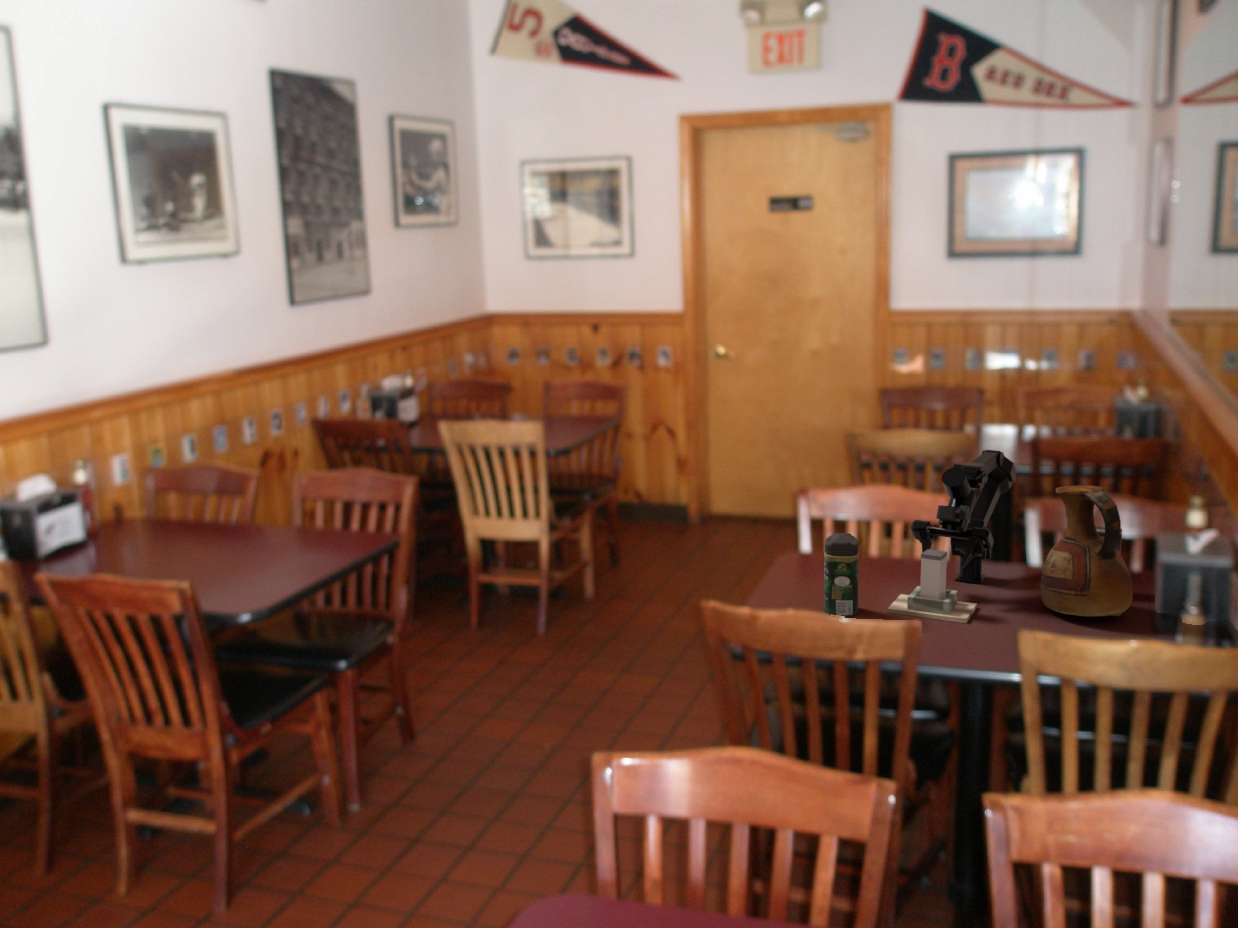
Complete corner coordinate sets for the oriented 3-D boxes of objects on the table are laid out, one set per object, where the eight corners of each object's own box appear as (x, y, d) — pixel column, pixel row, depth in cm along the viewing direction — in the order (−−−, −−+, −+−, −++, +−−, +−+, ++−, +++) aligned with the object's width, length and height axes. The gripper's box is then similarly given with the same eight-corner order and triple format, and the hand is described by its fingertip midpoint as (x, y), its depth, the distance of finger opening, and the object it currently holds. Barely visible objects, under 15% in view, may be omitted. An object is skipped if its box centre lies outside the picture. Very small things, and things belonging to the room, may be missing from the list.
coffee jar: (824, 604, 273) (825, 529, 270) (857, 606, 272) (859, 530, 268) (822, 618, 264) (823, 540, 260) (857, 619, 262) (859, 541, 259)
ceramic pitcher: (1079, 594, 276) (1086, 474, 270) (1151, 618, 258) (1160, 489, 253) (1020, 608, 267) (1025, 484, 261) (1090, 633, 250) (1098, 501, 244)
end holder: (900, 597, 277) (901, 582, 276) (976, 607, 269) (977, 591, 268) (887, 612, 267) (887, 596, 266) (966, 623, 258) (966, 606, 257)
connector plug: (926, 601, 270) (928, 548, 268) (945, 604, 268) (947, 551, 265) (919, 607, 267) (921, 553, 264) (938, 610, 264) (940, 556, 262)
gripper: (914, 487, 277) (896, 542, 270) (991, 495, 267) (975, 552, 260) (924, 511, 285) (908, 565, 278) (1000, 520, 275) (984, 576, 268)
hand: (942, 564), depth 271 cm, fingers open, 9 cm apart
